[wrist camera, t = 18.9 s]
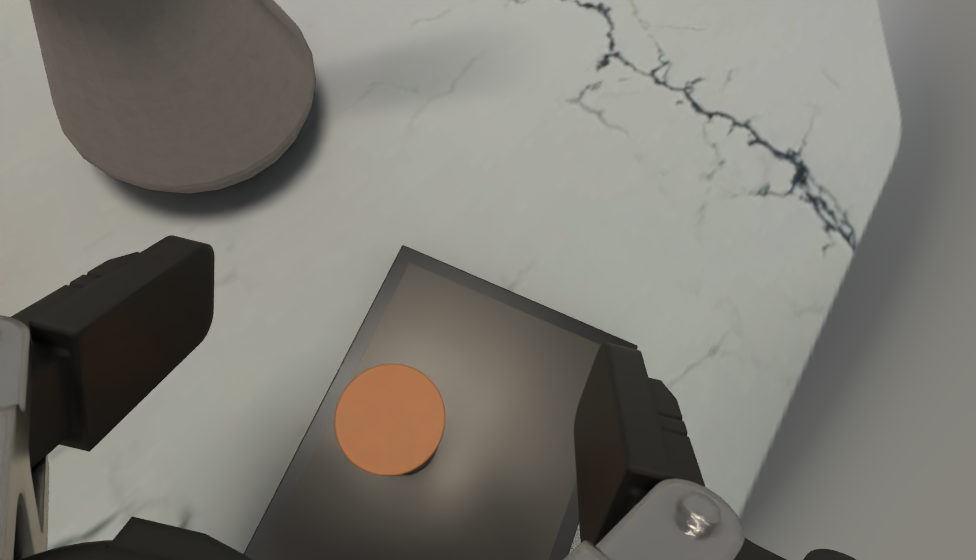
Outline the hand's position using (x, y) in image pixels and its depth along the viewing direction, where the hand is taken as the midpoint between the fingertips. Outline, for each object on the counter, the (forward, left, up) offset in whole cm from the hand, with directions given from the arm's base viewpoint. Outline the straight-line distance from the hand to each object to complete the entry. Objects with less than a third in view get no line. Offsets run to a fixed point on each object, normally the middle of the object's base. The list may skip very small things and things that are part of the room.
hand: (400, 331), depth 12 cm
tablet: (-2, +1, -15) cm, 15 cm away
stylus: (0, +1, -14) cm, 14 cm away
